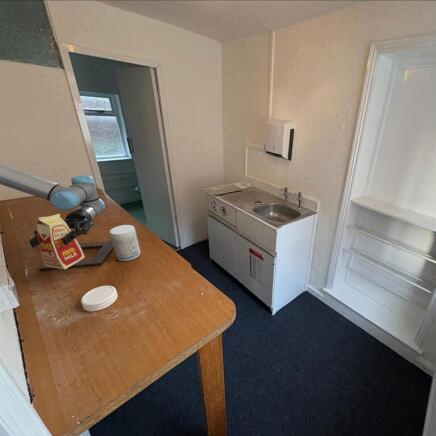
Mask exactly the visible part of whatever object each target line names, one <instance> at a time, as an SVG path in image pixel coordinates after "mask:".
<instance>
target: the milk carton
mask: <svg viewBox="0 0 436 436" xmlns="http://www.w3.org/2000/svg"><path fill="white" fill-rule="evenodd" d="M37 219H38V222H37V223H36V230H37V233H38V242H39V245H38V247H39V252H40V256H41V259H42V261H43V263H44V264H45V266H49V267H54V268H59V269H60V270H68V269H67V268H68V267H70V266H72V265H73V264H75V263H77V262H78V261H80V260H84V258H85V257H86V256H85V254H84V251H83V250H82V249H81V247H80V245H79V244H78V243H79V242H78V240H77V238H75V239H73V240H72V241H71V242H70V243H69V244H68V245H64V243H63V240H62V238H63V237H65V236H66V235H67V234H68V233H69V232H71V231H72V230H71V229H70V228H69V227H68V225H67V224H66V223H65V222H64V221H63V220H64V219H63V218H62V217H61V213H56V214H54V215H53V214H52V215H49V216H38V217H37Z"/></svg>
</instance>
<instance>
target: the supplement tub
mask: <svg viewBox="0 0 436 436" xmlns="http://www.w3.org/2000/svg"><path fill="white" fill-rule="evenodd" d="M136 231H137V230H136V229H135V226H134V225H131V224H122V225H118V226H117V225H116V226H114V227H113V228H111V229H110V230H109V235H110V239H111V240H110V241H112V243H113V246H114V252H115V255H116V258H117V260H118V261H121V262H129V261H130V262H131V261H133V260H135V259H138V258H139V256H140V255H141V248H140V244H139V240H138V235H137V232H136Z"/></svg>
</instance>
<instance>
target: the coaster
mask: <svg viewBox="0 0 436 436" xmlns="http://www.w3.org/2000/svg"><path fill="white" fill-rule="evenodd" d="M117 300H118V292H117V289H116V287H114V286H112V285H101V286H97V287H94V288H92V289H91V290H88V291H87V292H86V293H85V294H84V295H83V296H82V297H81V299H80V303H81V306H82V308H83V310H84V311H86V312H98V311H102V310H105V309H107V308H109V307H110V306H112V305H113V304H114V303H116V301H117Z"/></svg>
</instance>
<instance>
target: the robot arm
mask: <svg viewBox="0 0 436 436" xmlns="http://www.w3.org/2000/svg"><path fill="white" fill-rule="evenodd" d="M70 181H71V185H69V186H66V185H62V184H60V183H57V182H54V181H51V180H49V179H46V178H44V177H41V176H38V175H35V174H33V173H30V172H27V171H24V170H21V169H19V168H17V167H14V166H12V165H8V164H6V163H3V162H0V185H1V186H4V187H7V188H10V189H13V190H16V191H19V192H21V193H24V194H28V195H31V196H34V197H36V198H40V199H43V200H46V201H49V202H50V204H51V205H52V207H54V208H55V209H57V210H60V211H70V212H69V213H67V215H66V216H65V219H62V220H63V221H64V222H65V223H66V224H67V225H68V227H69V228H70V230H71V229H72V230H71V232H69V233H68V234H67V235H66V236H65V237H63V238H62V240H63V243H64V245H68V244H69V243H70V242H71V241H72V240H73V239H75V238H76V239H77V238H78V237H80V236H82V235H84V236H86V235H88V233H89V231H90V230H91V228H92V227H93V226H95V224H94V219H96V217H98V216H99V215H100V214H102V213H103V211H104V210H105V208H106V204H105V202H104V201H103V200H102V199H101V198H99V194H98V189H97V187H96V183H95V181H94V178H93V177H92V175H87V174H85V175H75V176H72V177H71V179H70ZM74 208H75V209H74ZM72 209H73V210H72ZM71 210H72V211H71ZM33 233H34V236H33V237H32V238H30V240H29V244H30V246H31V248H36V247H37V246H39V242H38V233H37V229H36V230H34V231H33Z"/></svg>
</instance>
